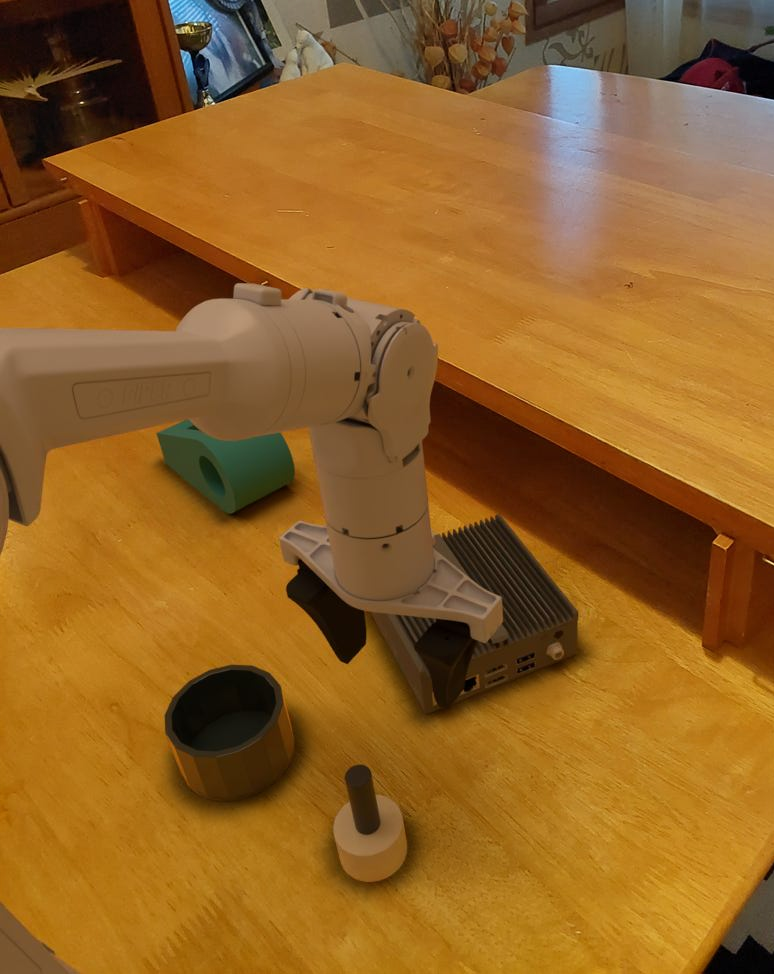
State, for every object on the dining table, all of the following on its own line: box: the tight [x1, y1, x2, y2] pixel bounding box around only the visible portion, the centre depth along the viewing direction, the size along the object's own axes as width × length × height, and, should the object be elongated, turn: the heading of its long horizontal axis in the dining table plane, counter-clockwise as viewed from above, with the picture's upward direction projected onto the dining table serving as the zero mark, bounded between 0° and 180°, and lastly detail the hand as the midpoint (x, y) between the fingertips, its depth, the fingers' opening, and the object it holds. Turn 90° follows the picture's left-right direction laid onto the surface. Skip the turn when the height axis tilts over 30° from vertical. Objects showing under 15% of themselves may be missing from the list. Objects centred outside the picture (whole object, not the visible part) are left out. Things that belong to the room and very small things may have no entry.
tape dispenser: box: [156, 419, 296, 515], centre depth 92 cm, size 7×15×8 cm, turn 43°
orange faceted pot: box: [164, 664, 296, 803], centre depth 65 cm, size 8×8×5 cm
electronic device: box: [369, 513, 579, 715], centre depth 74 cm, size 13×15×5 cm
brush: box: [332, 764, 408, 883], centre depth 58 cm, size 4×4×8 cm
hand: (400, 674), depth 59 cm, fingers open, 7 cm apart
